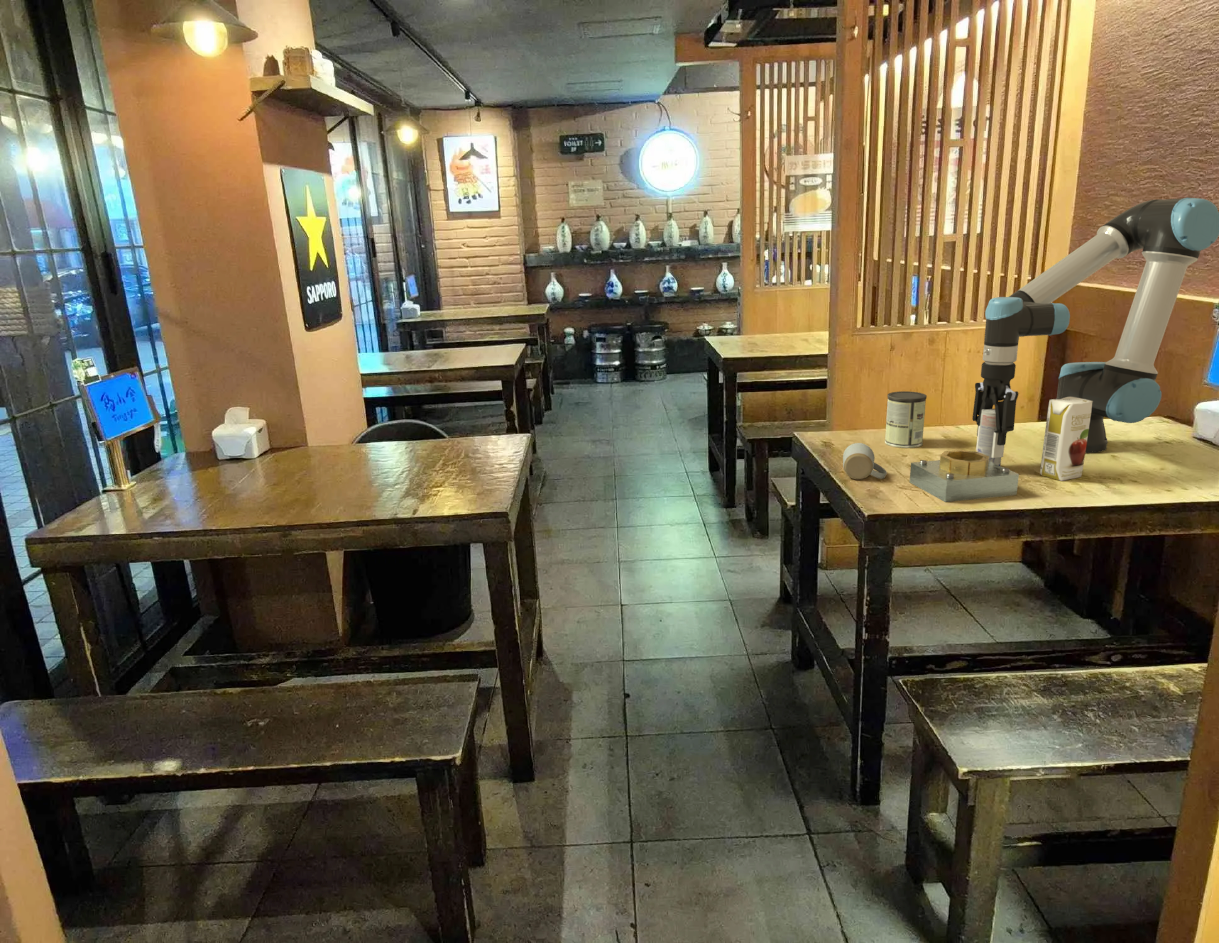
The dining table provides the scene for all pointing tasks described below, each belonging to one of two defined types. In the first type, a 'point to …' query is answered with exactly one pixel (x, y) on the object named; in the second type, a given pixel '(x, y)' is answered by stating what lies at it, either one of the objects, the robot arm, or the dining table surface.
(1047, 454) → the juice carton
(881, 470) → the ceramic mug
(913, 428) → the coffee can
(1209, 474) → the dining table surface
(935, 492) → the metal socket fixture
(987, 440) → the beverage can
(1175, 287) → the robot arm
